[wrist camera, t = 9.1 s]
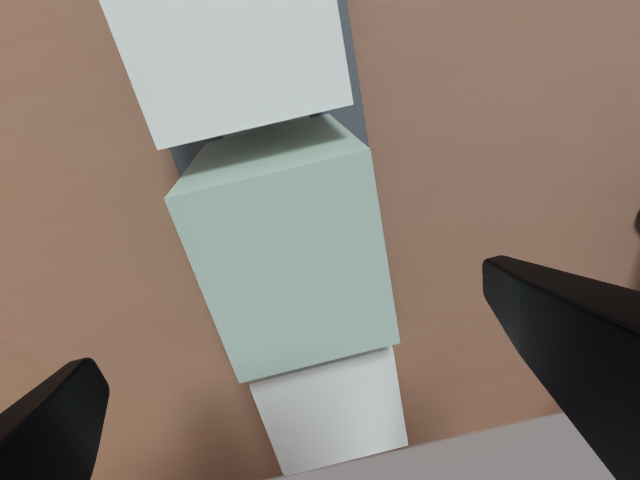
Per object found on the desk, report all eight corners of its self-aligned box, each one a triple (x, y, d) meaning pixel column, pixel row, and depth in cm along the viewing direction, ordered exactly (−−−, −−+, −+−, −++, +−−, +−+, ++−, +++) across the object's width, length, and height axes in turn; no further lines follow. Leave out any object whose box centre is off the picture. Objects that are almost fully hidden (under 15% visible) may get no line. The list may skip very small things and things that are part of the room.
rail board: (392, 329, 22) (446, 444, 16) (255, 363, 22) (250, 494, 15) (328, -82, 14) (382, -211, 7) (110, -34, 14) (-35, -122, 7)
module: (354, 245, 18) (400, 342, 12) (249, 270, 18) (239, 383, 12) (328, 113, 16) (370, 148, 9) (206, 143, 16) (163, 198, 9)
